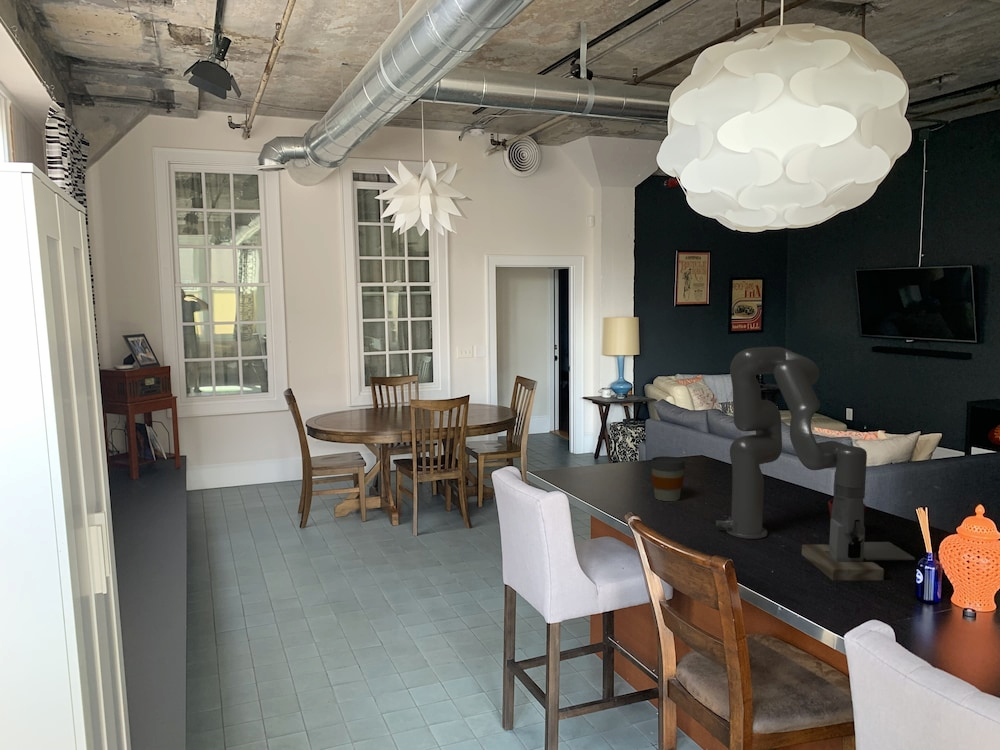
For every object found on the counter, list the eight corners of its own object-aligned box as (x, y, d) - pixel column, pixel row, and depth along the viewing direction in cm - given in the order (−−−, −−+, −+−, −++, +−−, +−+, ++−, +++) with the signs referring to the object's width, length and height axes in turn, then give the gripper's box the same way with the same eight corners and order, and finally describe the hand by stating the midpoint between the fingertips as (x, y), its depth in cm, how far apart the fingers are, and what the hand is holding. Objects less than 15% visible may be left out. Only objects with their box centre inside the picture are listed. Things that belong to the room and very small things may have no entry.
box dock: (832, 580, 195) (833, 569, 194) (801, 554, 215) (802, 544, 214) (883, 580, 195) (883, 569, 195) (847, 554, 215) (847, 544, 214)
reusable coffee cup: (681, 494, 281) (682, 456, 279) (686, 503, 268) (687, 463, 267) (648, 494, 282) (649, 456, 281) (652, 503, 270) (652, 463, 268)
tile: (866, 560, 210) (866, 558, 210) (843, 544, 224) (843, 542, 224) (914, 559, 210) (914, 557, 210) (888, 543, 224) (888, 541, 224)
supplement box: (863, 571, 201) (866, 527, 199) (834, 569, 202) (837, 525, 201) (855, 562, 208) (857, 519, 207) (827, 560, 209) (830, 517, 208)
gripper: (822, 483, 211) (819, 541, 213) (851, 499, 194) (847, 563, 196) (848, 483, 211) (845, 541, 213) (879, 499, 194) (875, 563, 196)
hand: (846, 551), depth 205 cm, fingers closed on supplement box, 8 cm apart
